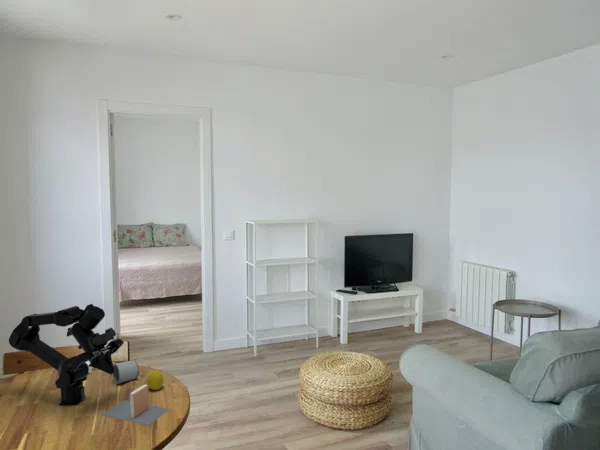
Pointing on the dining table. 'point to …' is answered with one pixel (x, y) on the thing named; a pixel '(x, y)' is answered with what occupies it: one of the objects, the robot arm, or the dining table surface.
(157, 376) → the lemon
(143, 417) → the mat
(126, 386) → the dining table surface
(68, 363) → the robot arm
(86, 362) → the elephant figurine
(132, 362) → the ceramic mug
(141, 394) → the tile
